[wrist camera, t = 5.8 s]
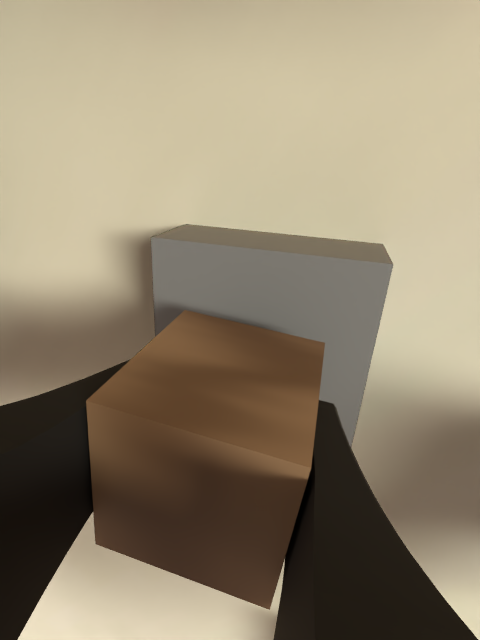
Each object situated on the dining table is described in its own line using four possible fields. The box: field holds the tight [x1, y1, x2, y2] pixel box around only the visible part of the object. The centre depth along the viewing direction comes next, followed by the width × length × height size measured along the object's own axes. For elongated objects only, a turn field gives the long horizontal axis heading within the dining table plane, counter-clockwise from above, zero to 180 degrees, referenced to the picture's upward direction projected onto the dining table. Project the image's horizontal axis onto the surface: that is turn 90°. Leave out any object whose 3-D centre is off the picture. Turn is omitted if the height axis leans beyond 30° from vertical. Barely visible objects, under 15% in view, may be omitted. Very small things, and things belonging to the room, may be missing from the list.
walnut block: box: [86, 310, 325, 610], centre depth 10 cm, size 4×4×5 cm
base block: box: [151, 224, 393, 447], centre depth 15 cm, size 8×8×4 cm
